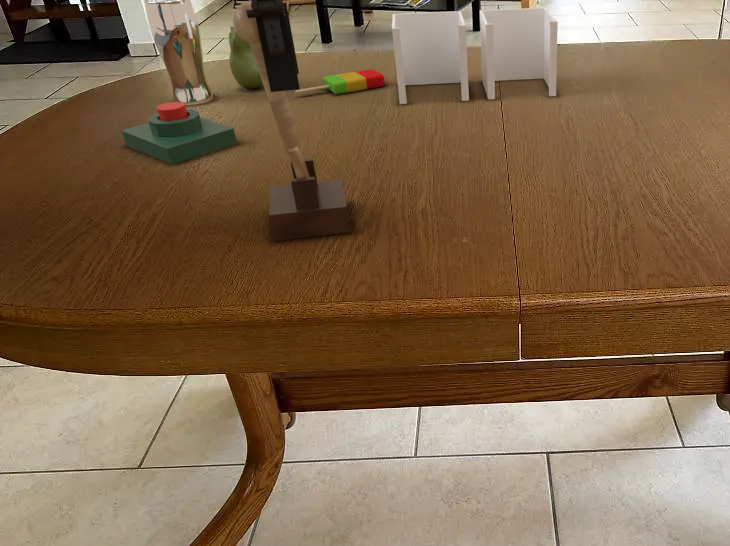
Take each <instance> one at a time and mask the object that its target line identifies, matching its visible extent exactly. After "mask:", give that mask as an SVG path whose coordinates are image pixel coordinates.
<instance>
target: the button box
mask: <svg viewBox="0 0 730 546" xmlns="http://www.w3.org/2000/svg"><path fill="white" fill-rule="evenodd" d="M186 111H187V114H188V117H186V118H183V119H180V120H173V121H161V120H160V117H159V114H158V112H156V113H153V114H152V115H150V116H148V119H147V120H148V122H147V123H143V124H140V125H136V126H132V127H129V128H124V129H122V130H121V133H122V137H123V140H124V143H125V146H126V147H128V148H131V149H133V150H136V151H138V152H140V153H143V154H145V155H148V156H150V157H153V158H155V159H158V160H160V161H163V162H165V163H168V164H171V165H175V164H178V163H181V162H184V161H187V160H190V159H193V158H197V157H199V156H203V155H206V154H209V153H212V152H215V151H218V150H221V149H224V148H225V149H226V148H228V147H231V146H235V145H237V144H238V140H237V137H236V132H235V128H234V127H231V126H228V125H225V124H222V123H219V122H216V121H213V120H210V119H208V118H204V117H202V116H200V112H199V111H198V110H195V109H192V108H186Z"/></svg>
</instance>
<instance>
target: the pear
mask: <svg viewBox="0 0 730 546" xmlns="http://www.w3.org/2000/svg"><path fill="white" fill-rule="evenodd" d="M229 28H230V29H229V30H230V32H229V34H228V45H229V48H230V51H229V52H230V53H229V60H228V62H229V69H230V71H231V74H232V76H233V78H234V80H235V81H236V82H237V84H238V85H239V86H241V87H242V88H245V89H249V90H250V89H251V90H254V89H258V88H260V87H262V86H264V85H263V82H262V79H261V76H260V73H259V70H258V67H257V64H256V61H255V58H254V55H253V52H252V49H251V46H250V43H248V42H246V41H244V40H243V39H241V38H240V37H239V36H238V34H237V33H236V31H235V29H234V26H233V25H232V26H230V27H229Z"/></svg>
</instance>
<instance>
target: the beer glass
mask: <svg viewBox="0 0 730 546" xmlns="http://www.w3.org/2000/svg"><path fill="white" fill-rule="evenodd" d="M143 2H144V7H145V13H146V17H147V21H148V26H149V29H150V32H151V37H152V40H153V41H154V44H155V47H156V49H157V51H158V53H159V55H160V58H161V60H162V62H163V64H164V66H165V69H166V71H167V74H168V76H169V80H170V82H171V88H172V89H171V90H172V97H173V102H181V103H184V104H185V106H197V105H202V104H205V103H209V102H211V101H213V99H214V95H213V92H212V89H211V87H210V86H209V83H208V80H207V77H206V74H205V67H204V55H203V44H202V38H201V37H202V36H201V31H200V27H199V23H198V19H197V16H196V13H195V9H194V7H193V4H192V0H143Z"/></svg>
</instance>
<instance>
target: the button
mask: <svg viewBox="0 0 730 546" xmlns="http://www.w3.org/2000/svg"><path fill="white" fill-rule="evenodd" d="M186 109H187V108H186V105H185V104H184V103H181V102H174V101H171V102H165V103H161V104H159V105H158V106H156V110H157V113H158V114H159V117H160V120H161V121H173V120H180V119H183V118H186V117H188V114H187V111H186Z"/></svg>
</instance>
